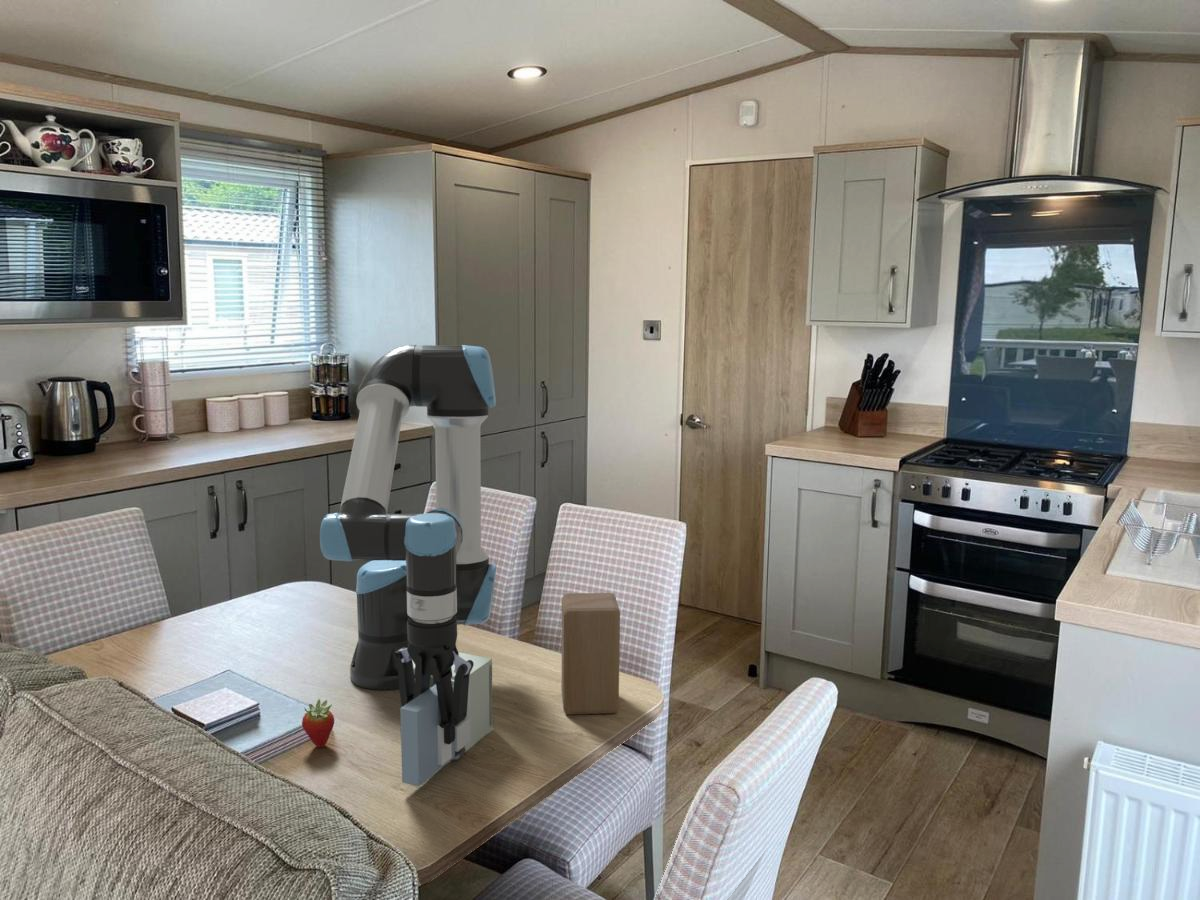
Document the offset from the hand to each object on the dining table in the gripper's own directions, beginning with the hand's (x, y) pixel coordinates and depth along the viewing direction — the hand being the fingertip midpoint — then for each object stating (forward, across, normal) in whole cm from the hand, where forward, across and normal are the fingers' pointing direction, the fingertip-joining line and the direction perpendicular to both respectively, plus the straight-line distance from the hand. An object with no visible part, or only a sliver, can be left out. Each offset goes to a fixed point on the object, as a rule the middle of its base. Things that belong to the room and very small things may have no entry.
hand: (434, 758), depth 147 cm
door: (+1, 0, 0) cm, 1 cm away
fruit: (+3, -22, 0) cm, 23 cm away
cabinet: (+3, -6, +13) cm, 14 cm away
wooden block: (+3, +12, +34) cm, 36 cm away
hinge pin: (+3, 0, +6) cm, 6 cm away
